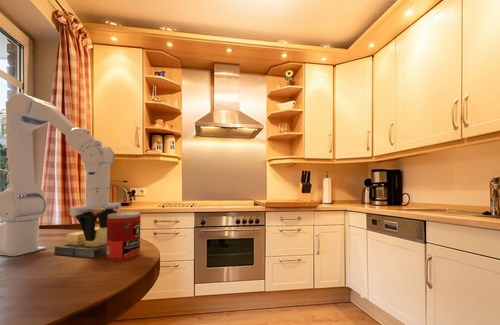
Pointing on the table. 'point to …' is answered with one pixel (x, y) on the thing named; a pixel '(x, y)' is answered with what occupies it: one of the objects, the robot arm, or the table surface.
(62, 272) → the table surface
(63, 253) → the grey open box
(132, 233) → the canned food
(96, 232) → the honey wood cube
